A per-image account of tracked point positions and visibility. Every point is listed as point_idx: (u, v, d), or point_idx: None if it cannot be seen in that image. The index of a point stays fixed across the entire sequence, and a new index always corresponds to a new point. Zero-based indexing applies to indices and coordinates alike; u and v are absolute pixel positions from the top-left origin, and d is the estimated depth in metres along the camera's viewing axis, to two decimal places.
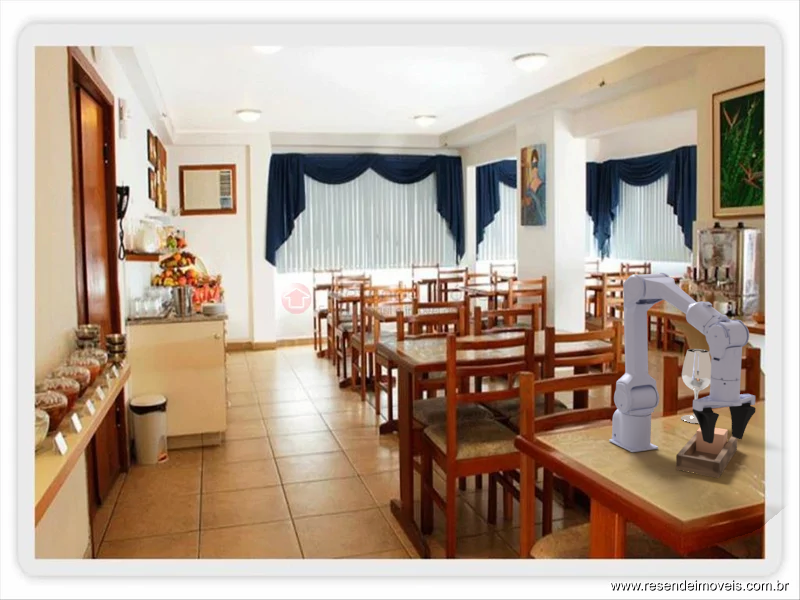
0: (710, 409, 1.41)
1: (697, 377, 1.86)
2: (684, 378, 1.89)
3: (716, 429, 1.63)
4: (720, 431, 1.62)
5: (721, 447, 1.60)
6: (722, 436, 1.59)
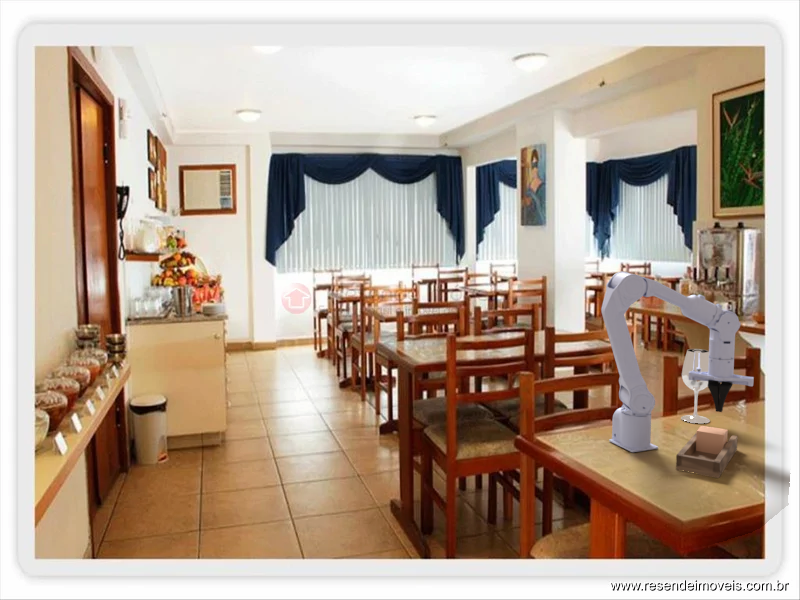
0: (716, 382, 1.67)
1: None
2: (684, 378, 1.89)
3: (716, 429, 1.63)
4: (720, 431, 1.62)
5: (721, 447, 1.60)
6: (722, 436, 1.59)
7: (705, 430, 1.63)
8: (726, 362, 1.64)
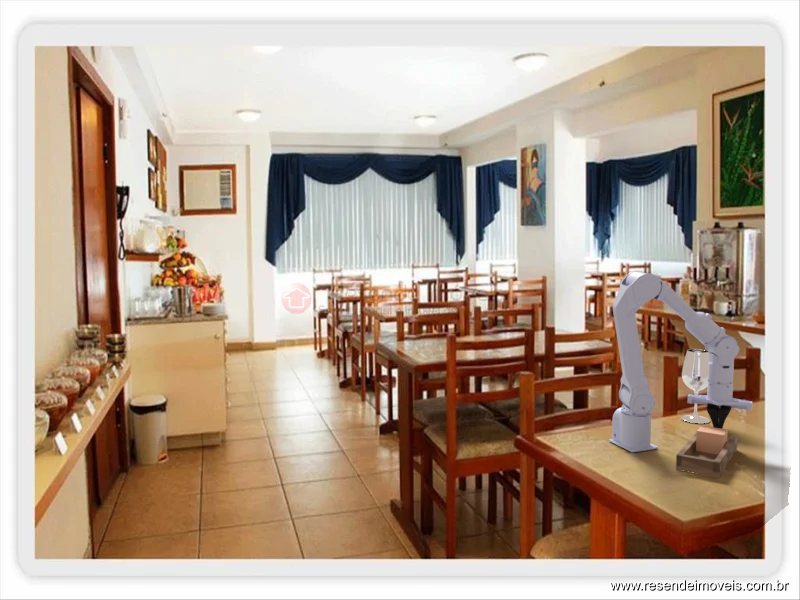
0: (715, 406, 1.68)
1: (697, 377, 1.86)
2: (684, 378, 1.89)
3: (716, 429, 1.63)
4: (720, 431, 1.62)
5: (721, 447, 1.60)
6: (722, 436, 1.59)
7: (705, 430, 1.63)
8: (725, 386, 1.65)
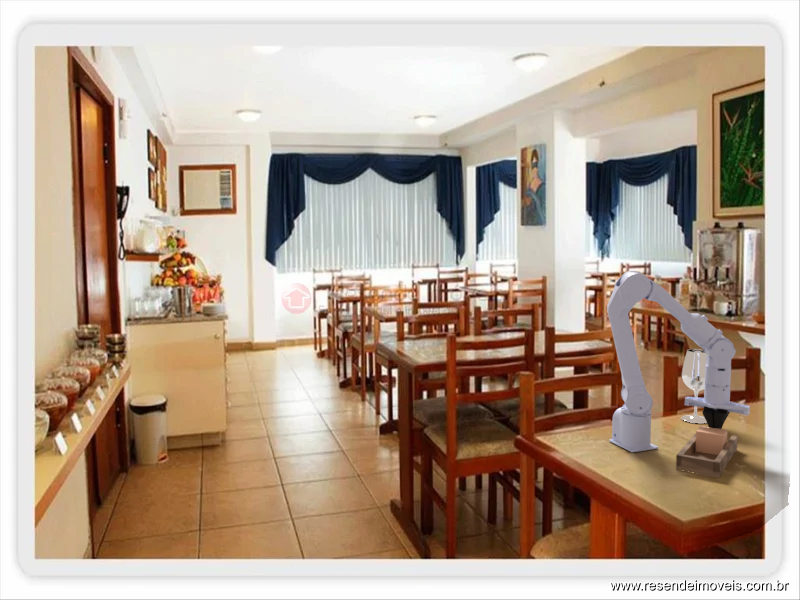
0: (711, 409, 1.65)
1: (697, 377, 1.86)
2: (684, 378, 1.89)
3: (716, 429, 1.63)
4: (720, 431, 1.62)
5: (721, 447, 1.59)
6: (722, 436, 1.59)
7: (705, 430, 1.62)
8: (720, 389, 1.62)
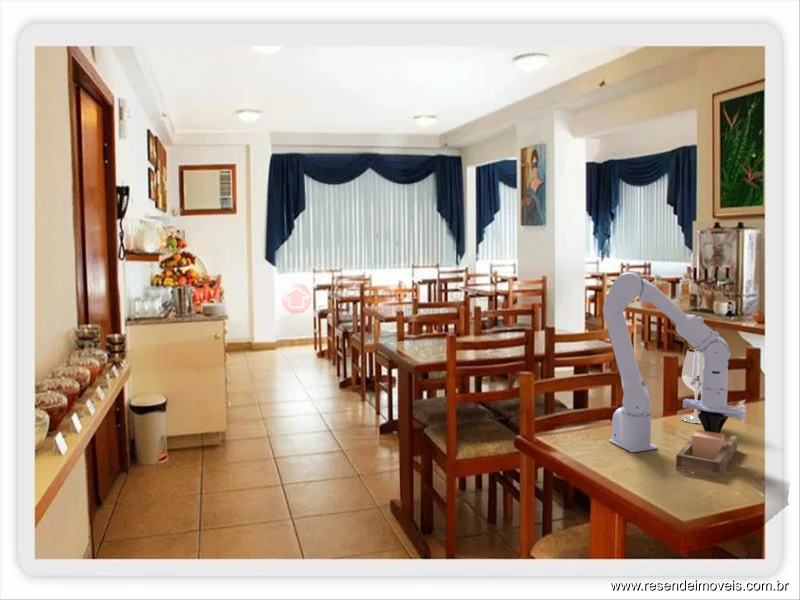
0: (708, 412, 1.63)
1: (697, 377, 1.86)
2: (684, 378, 1.89)
3: (712, 434, 1.60)
4: (716, 436, 1.58)
5: (717, 452, 1.56)
6: (718, 441, 1.56)
7: (701, 435, 1.59)
8: (715, 392, 1.59)
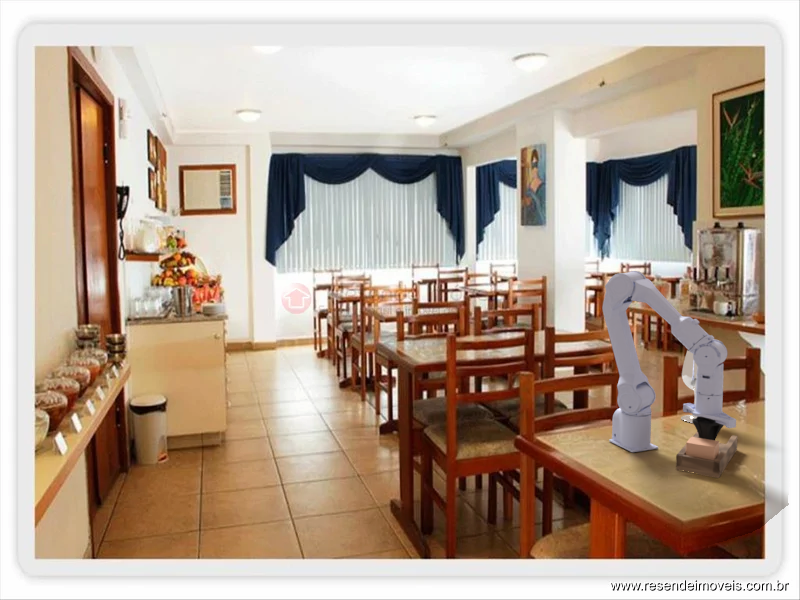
0: (703, 418, 1.58)
1: None
2: (684, 378, 1.89)
3: (707, 441, 1.55)
4: (711, 443, 1.54)
5: None
6: (713, 448, 1.51)
7: (695, 442, 1.55)
8: (705, 398, 1.55)
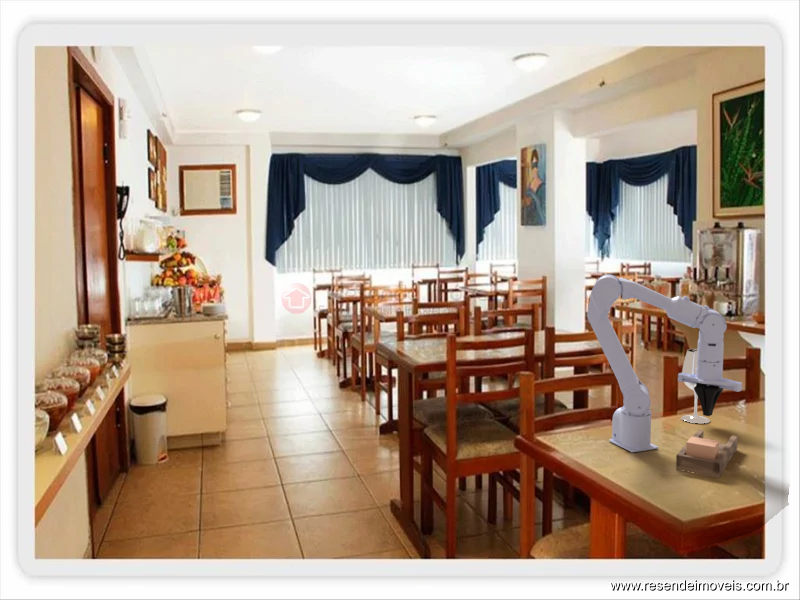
0: (704, 385, 1.63)
1: None
2: None
3: (707, 440, 1.55)
4: (711, 443, 1.54)
5: None
6: (713, 448, 1.51)
7: (695, 441, 1.55)
8: (711, 365, 1.60)
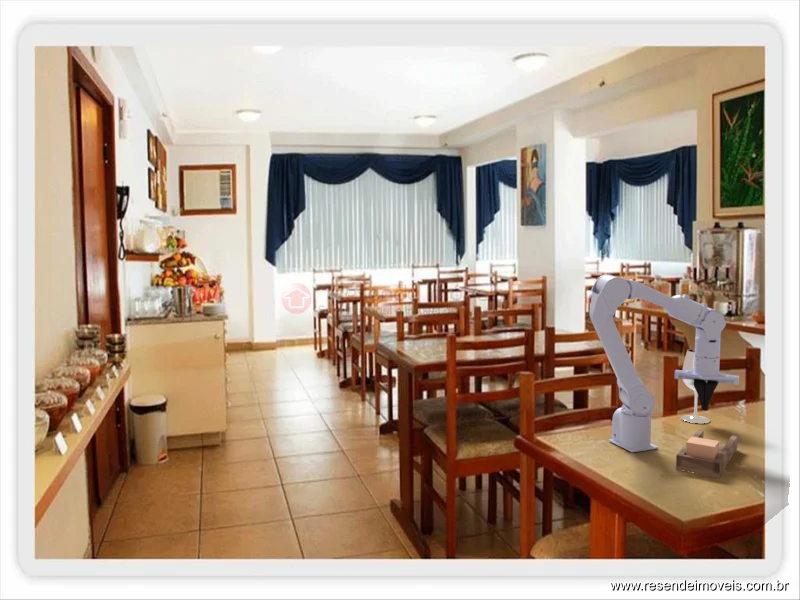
0: (702, 381, 1.68)
1: None
2: None
3: (707, 440, 1.55)
4: (711, 443, 1.54)
5: None
6: (713, 448, 1.51)
7: (695, 441, 1.55)
8: (712, 361, 1.64)
